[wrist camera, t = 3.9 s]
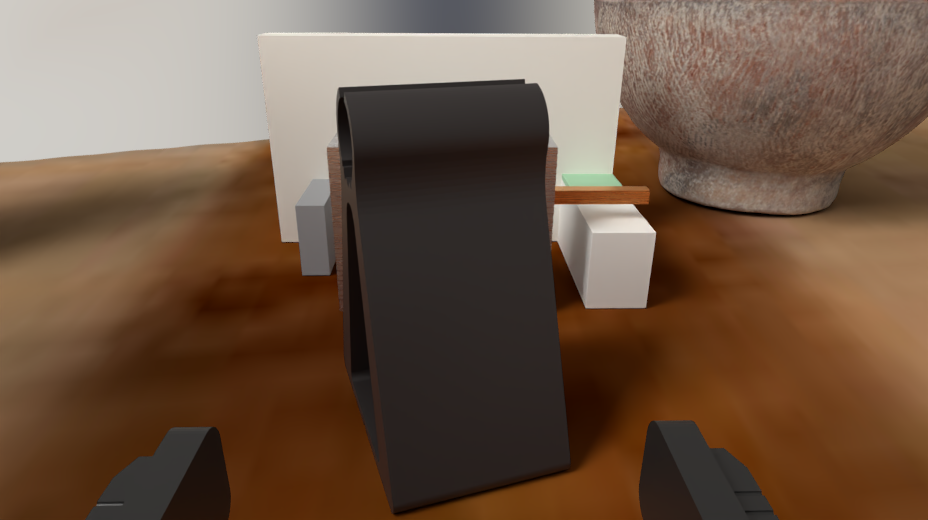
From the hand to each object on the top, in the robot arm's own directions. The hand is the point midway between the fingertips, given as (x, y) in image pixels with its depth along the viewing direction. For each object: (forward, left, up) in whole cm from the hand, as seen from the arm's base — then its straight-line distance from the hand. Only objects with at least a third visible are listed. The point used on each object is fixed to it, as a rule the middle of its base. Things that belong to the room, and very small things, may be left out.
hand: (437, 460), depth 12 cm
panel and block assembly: (0, +24, -7) cm, 25 cm away
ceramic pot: (+23, +37, -7) cm, 44 cm away
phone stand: (0, +10, -7) cm, 12 cm away
